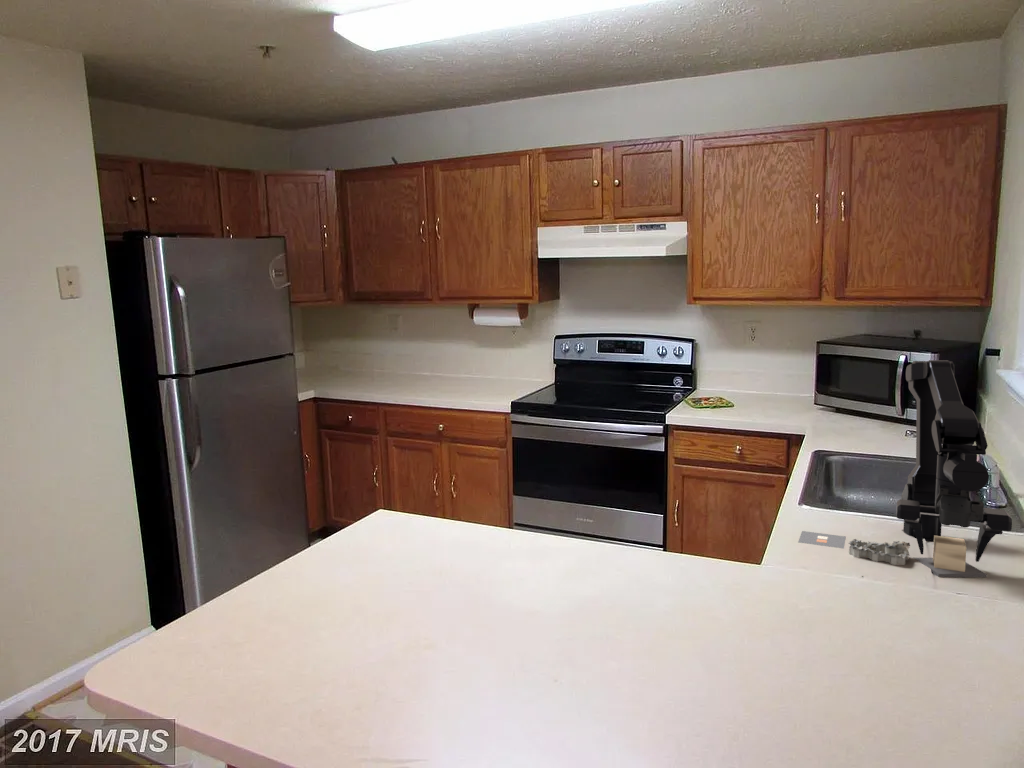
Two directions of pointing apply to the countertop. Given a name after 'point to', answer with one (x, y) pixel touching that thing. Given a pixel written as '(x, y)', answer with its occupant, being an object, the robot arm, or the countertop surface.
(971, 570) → the charcoal mat
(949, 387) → the robot arm
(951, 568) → the maple block
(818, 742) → the countertop surface
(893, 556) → the egg carton
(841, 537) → the tile
